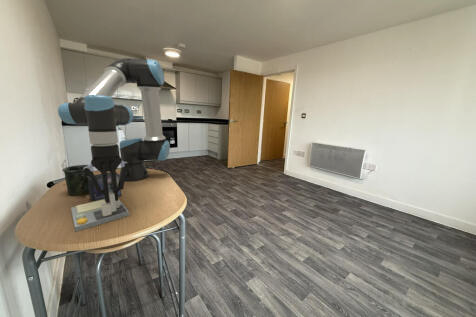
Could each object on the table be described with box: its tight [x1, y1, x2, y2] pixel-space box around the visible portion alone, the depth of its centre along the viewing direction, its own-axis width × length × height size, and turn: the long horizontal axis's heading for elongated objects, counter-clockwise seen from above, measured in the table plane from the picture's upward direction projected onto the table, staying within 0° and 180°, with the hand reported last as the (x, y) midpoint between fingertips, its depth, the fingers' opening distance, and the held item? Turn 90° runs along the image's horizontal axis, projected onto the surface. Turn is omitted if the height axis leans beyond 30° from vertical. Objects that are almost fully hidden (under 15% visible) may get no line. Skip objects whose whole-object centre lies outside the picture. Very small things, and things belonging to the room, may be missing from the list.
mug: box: [62, 164, 89, 197], centre depth 86 cm, size 11×15×12 cm
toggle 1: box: [101, 203, 112, 217], centre depth 64 cm, size 2×2×4 cm
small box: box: [87, 172, 122, 202], centre depth 82 cm, size 11×6×10 cm, turn 140°
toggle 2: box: [115, 197, 120, 208], centre depth 69 cm, size 2×2×4 cm
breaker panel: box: [70, 199, 130, 232], centre depth 69 cm, size 15×18×2 cm
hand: (113, 209), depth 66 cm, fingers closed
